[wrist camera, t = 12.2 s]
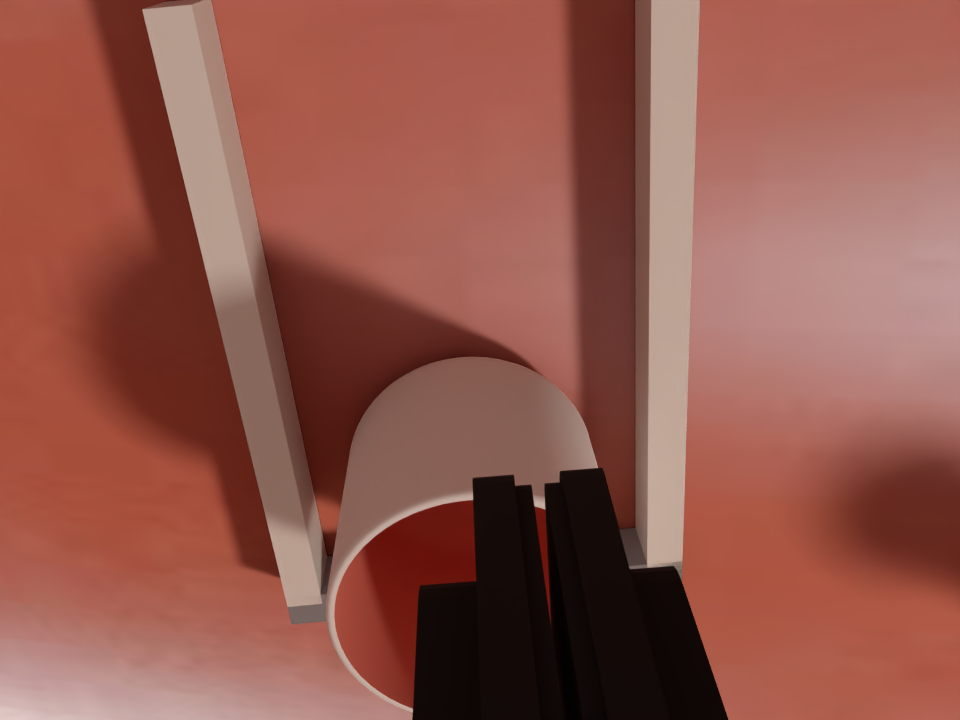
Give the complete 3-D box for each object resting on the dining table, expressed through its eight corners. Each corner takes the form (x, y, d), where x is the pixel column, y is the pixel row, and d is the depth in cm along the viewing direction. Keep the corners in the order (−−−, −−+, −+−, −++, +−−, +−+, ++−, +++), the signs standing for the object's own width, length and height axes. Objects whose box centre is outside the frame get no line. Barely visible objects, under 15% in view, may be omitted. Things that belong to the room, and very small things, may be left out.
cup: (334, 522, 39) (303, 704, 30) (375, 321, 34) (353, 465, 25) (551, 557, 40) (583, 741, 31) (616, 369, 36) (675, 520, 27)
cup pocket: (164, 1, 29) (142, 9, 26) (680, -47, 29) (700, -43, 26) (299, 584, 40) (291, 624, 38) (668, 550, 40) (681, 587, 38)
